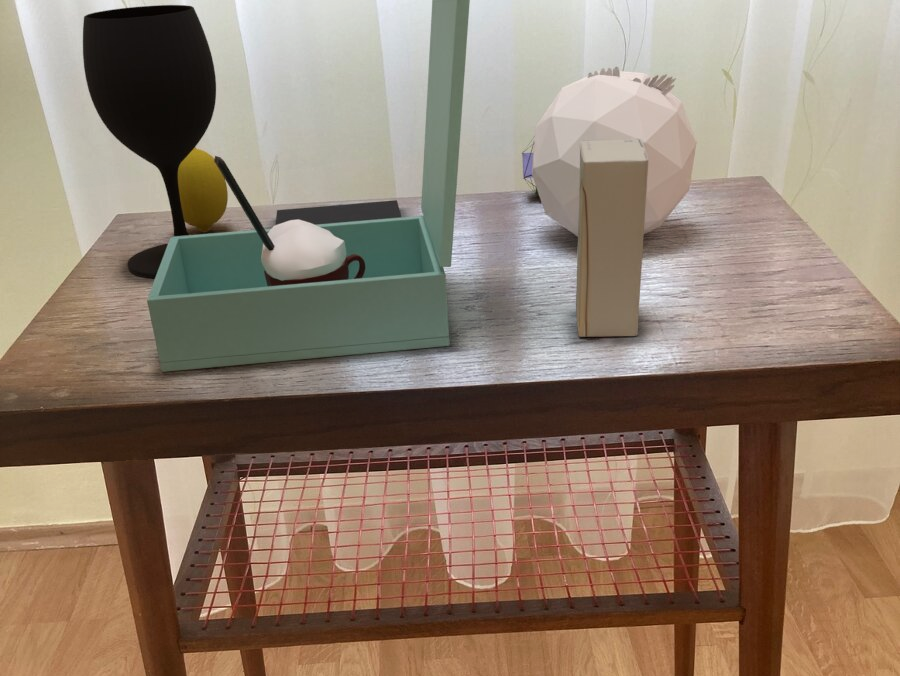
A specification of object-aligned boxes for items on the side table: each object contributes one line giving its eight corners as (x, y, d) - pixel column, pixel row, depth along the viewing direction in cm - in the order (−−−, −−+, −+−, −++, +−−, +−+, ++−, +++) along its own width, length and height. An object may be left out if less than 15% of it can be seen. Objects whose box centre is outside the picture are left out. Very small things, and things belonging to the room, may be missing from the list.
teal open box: (162, 372, 78) (146, 299, 75) (183, 300, 90) (170, 236, 87) (449, 346, 79) (445, 273, 76) (430, 279, 91) (426, 215, 89)
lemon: (194, 223, 110) (178, 138, 106) (243, 225, 108) (230, 139, 104) (165, 239, 106) (148, 151, 101) (216, 241, 104) (201, 152, 100)
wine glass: (107, 263, 100) (50, 16, 89) (205, 237, 106) (164, 1, 94) (163, 287, 93) (110, 23, 82) (266, 257, 99) (228, 6, 88)
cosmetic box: (575, 309, 84) (577, 139, 77) (634, 307, 83) (641, 136, 76) (578, 339, 78) (580, 160, 72) (641, 337, 78) (649, 157, 71)
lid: (463, -99, 64) (537, -93, 64) (437, -105, 77) (500, -100, 77) (439, 267, 75) (502, 269, 76) (420, 209, 88) (475, 211, 89)
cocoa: (369, 295, 87) (353, 133, 80) (366, 323, 81) (349, 152, 75) (249, 303, 87) (223, 141, 80) (238, 331, 82) (209, 161, 75)
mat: (274, 253, 100) (273, 244, 100) (278, 218, 110) (276, 209, 110) (406, 241, 101) (405, 233, 100) (397, 208, 111) (397, 199, 110)
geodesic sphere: (744, 148, 98) (652, 7, 94) (737, 189, 87) (632, 31, 83) (607, 248, 106) (517, 122, 102) (585, 298, 95) (482, 158, 90)
